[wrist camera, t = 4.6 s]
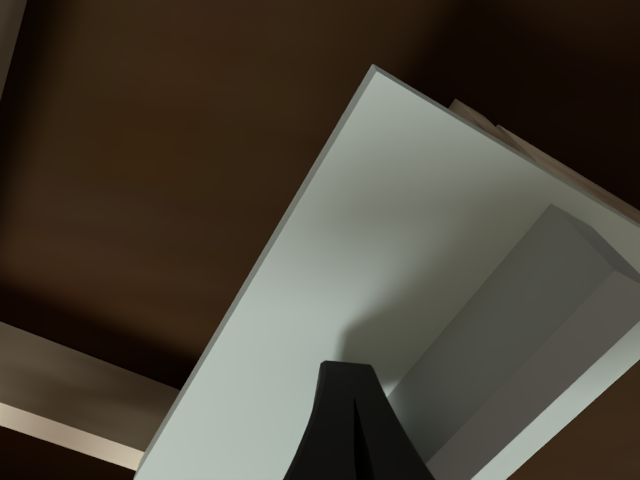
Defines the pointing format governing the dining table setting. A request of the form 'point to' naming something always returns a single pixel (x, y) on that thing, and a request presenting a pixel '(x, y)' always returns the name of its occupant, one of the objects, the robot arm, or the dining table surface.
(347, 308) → the lid
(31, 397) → the frame
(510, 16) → the dining table surface
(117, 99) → the dining table surface
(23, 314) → the dining table surface
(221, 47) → the dining table surface
